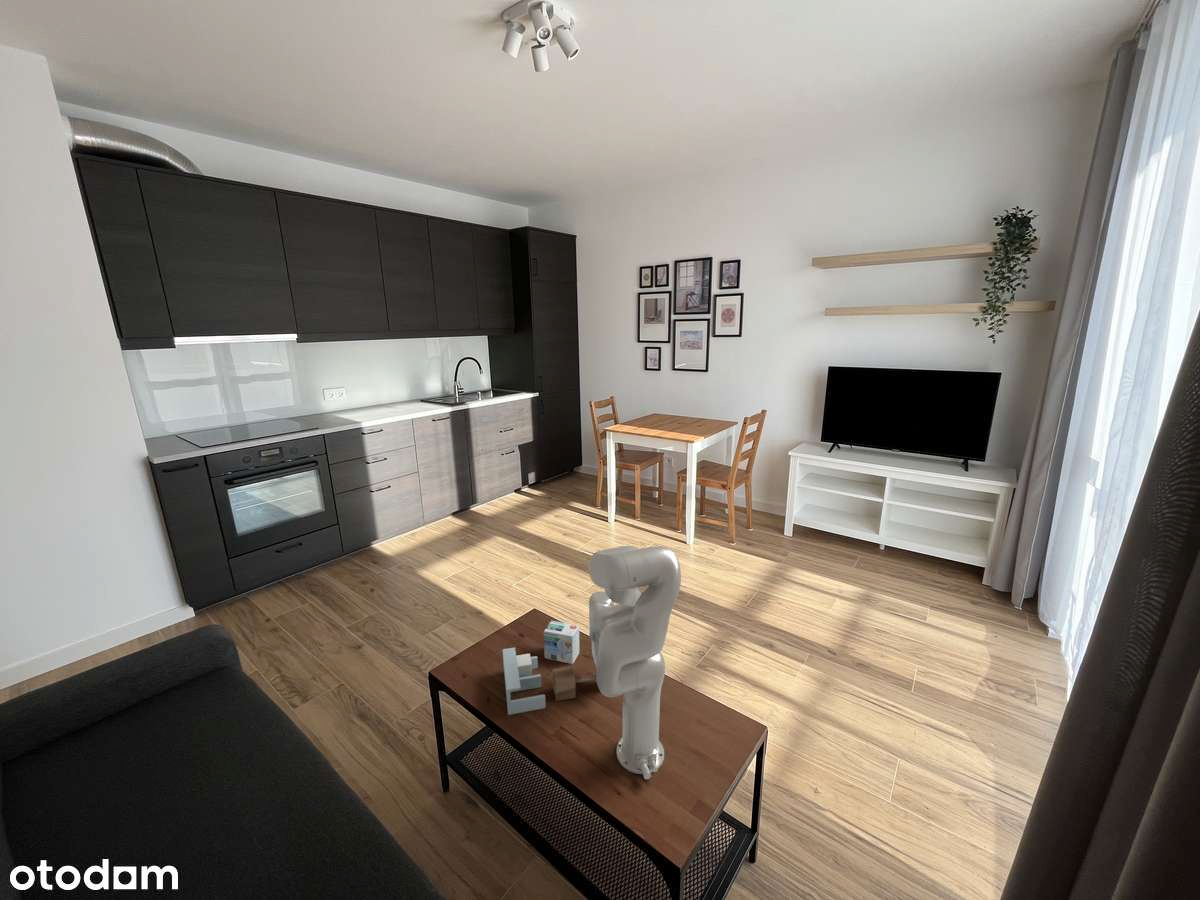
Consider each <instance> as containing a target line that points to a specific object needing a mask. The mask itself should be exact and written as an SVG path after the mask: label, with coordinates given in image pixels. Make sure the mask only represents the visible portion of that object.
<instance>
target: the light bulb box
mask: <svg viewBox="0 0 1200 900" xmlns="http://www.w3.org/2000/svg"><path fill="white" fill-rule="evenodd" d="M543 639H544V640H543V641H544V643H543V644H544V645H543V647H544V650H543V653H544V659H547V660H551V661H555V662H556V661H557V662H561V663H566V664H569V665H573V664H574V662H575V661H576V659H577V657H578V656H579V654H580V625H577V624H573V623H568V622H567V623H566V622H561V621H555V620H550V622H549V623H548V625H547V627H546V628H545V629H544V631H543Z"/></svg>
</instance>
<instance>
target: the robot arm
mask: <svg viewBox="0 0 1200 900" xmlns="http://www.w3.org/2000/svg"><path fill="white" fill-rule="evenodd" d="M681 572H682V571H681V564H680V561H679V558H678V556H677V555H676V553H675V552H674V551H673V549H670V548H668V547H665V546H648V547H642V548H638V547H636V546H633V545H624V546H618V547H612V548H606V549H601V550H597V551H595V552H594V553H593V554H592V555H591V557H590V558H589V561H588V575H589V576H590V577H589V578H590V580H591V582H592V584H594V585H595V586H596V587H599V588H600V589H601V588H602V589H604V591H596V592H594V593H592V594H591V595H590V597H589V599H588V616H589V617H588V621H589V622H588V623H589V625H588V626H589V627H588V629H589V630H588V631H589V632H588V634H589V635H588V637H589V639H590V641H591V654H592V658H593V661H594V664H595V668H594V669H595V671H594V673H595V675H594V676H596V679H595V681H596V685H597V688H598V690H599V692H600V693H601V694H602V695H603V696H605V697H607V698H615V697H619V696H623V697H622V737H621V738H620V739H619V740H618V743H617V745H616V757H617V761H618V763H619V764H620V765H621V766H622V767H623V769H624V770H627V771H628V772H630V773H633V774H635V775H636V774H638V775H642V776H643V779H644V780H649V779H651V777H652V773H657V772H658V770H659V768H660V767H661V766H662V765H663V762H664V759H665V749H664V746H663V744H662V742H661V741H660V740H659V739H660V714H661V713H660V710H661V709H660V707H661V694H662V693H661V691H662V688H663V687H662V686H663V682H664V679H665V674H666V662H665V658H664V655H663V653H662V650H663V648H664V646H665V642H666V638H667V633H668V628H669V624H670V617H671V614H672V611H673V609H674V605H675V604H676V601H677V599H678V596H679V593H680V589H681V584H682V573H681ZM641 587H642V588H643V587H646V588H645V589H644V591H643V592H642V593H641V591H640V589H639V588H641Z"/></svg>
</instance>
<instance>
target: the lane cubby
mask: <svg viewBox="0 0 1200 900" xmlns="http://www.w3.org/2000/svg"><path fill="white" fill-rule="evenodd" d="M516 656H517V652H516V647H510V648H503V649H502V658H503V659H502V662H503V663H502V664H503V675H504V685H505V697H506V698H505V699H506V706H507V707H506V708H507V716H510V715H515V714H521V713H526V712H533V711H536V710H541V709H546V708H547V707H546V706H547V705H546V695H545V694H539V695H532V696H527V697H522V698H517V699H516V698H515V699H511V696H512V695H511V693H515V692H522V691H527V690H532V689H539V688H542V674H541V673H539V674H534V675H533V674H532V676H527V677H521V678H519V672H518V665H517V658H516ZM530 657H531V663H532V670H535V669H536V670H537V669H538V668H539V664H538V663H539V662H538V656H536V655H535V656H530Z"/></svg>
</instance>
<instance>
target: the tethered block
mask: <svg viewBox="0 0 1200 900" xmlns="http://www.w3.org/2000/svg"><path fill="white" fill-rule="evenodd" d="M588 681H589V682H590V681H596V676H595V675H591V676H586V677H581V678H576V676H575V673H574V669H573V666H572V665H571V666H565V667H559V668H558V667H557V668H553V669H552V687H553V688H552V689H553V694H554V698H555V701H556V702H558V701H565V700H569V699H574V698H576V695H577V694H576V684H577V683H583V682H588Z"/></svg>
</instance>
